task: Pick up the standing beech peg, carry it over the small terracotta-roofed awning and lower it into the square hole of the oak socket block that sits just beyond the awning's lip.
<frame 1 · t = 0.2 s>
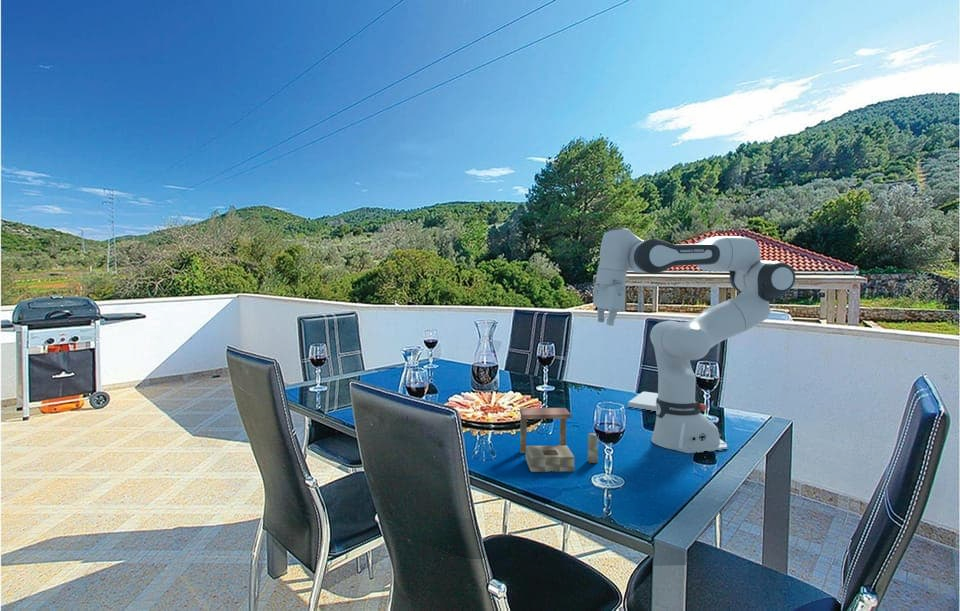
hand: (605, 323, 153), 39 cm above the table, tool pointing down, fingers open, 8 cm apart
food packaging: (653, 407, 203), on the table
socket block: (549, 465, 138), on the table
awning: (542, 452, 148), on the table
peg: (592, 462, 140), on the table
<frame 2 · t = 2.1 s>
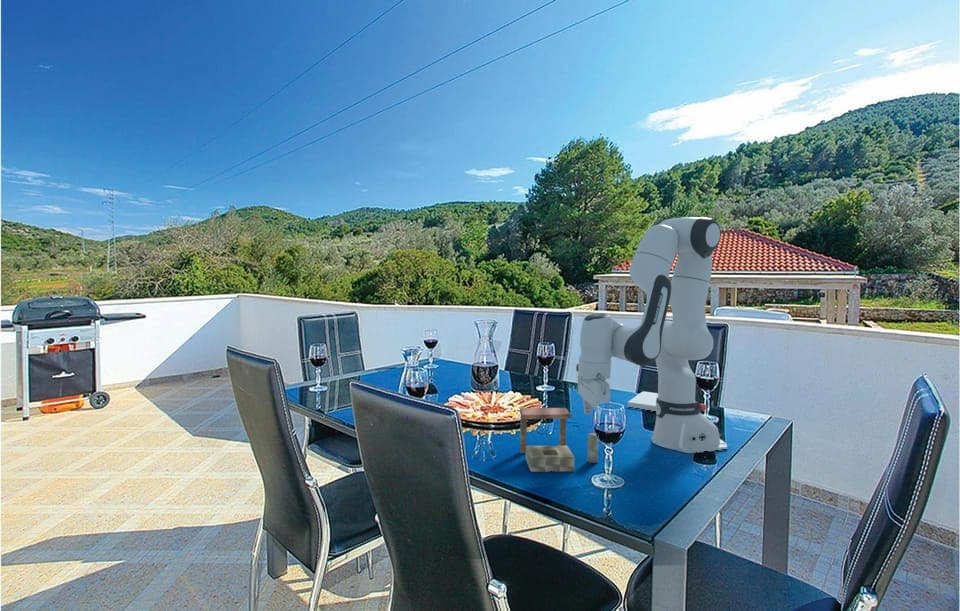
hand: (592, 418, 139), 13 cm above the table, tool pointing down, fingers open, 8 cm apart
nothing on the table moved.
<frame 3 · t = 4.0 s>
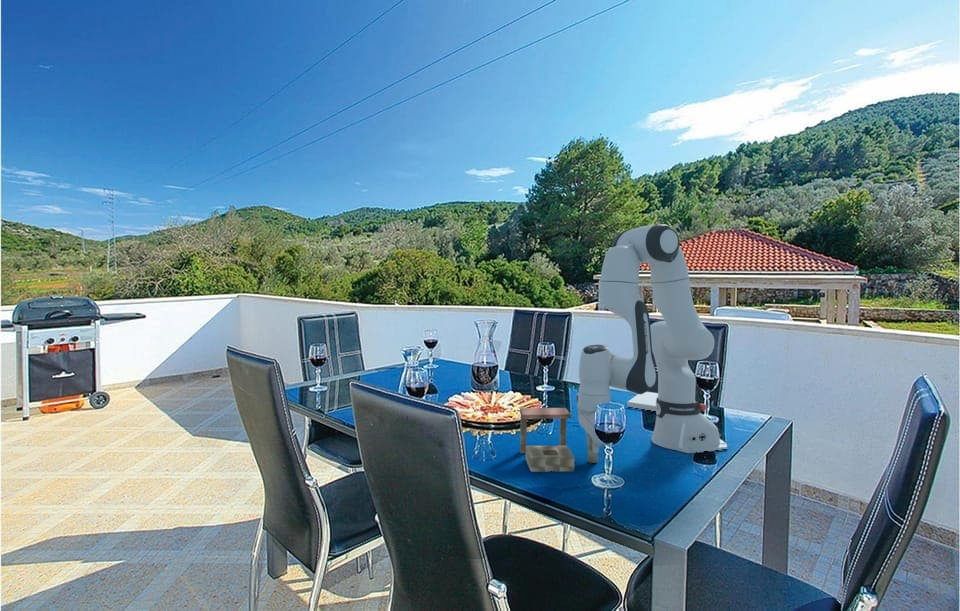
hand: (592, 449, 140), 4 cm above the table, tool pointing down, fingers closed on peg, 3 cm apart
peg: (592, 461, 140), on the table, touching gripper
everything else where it was.
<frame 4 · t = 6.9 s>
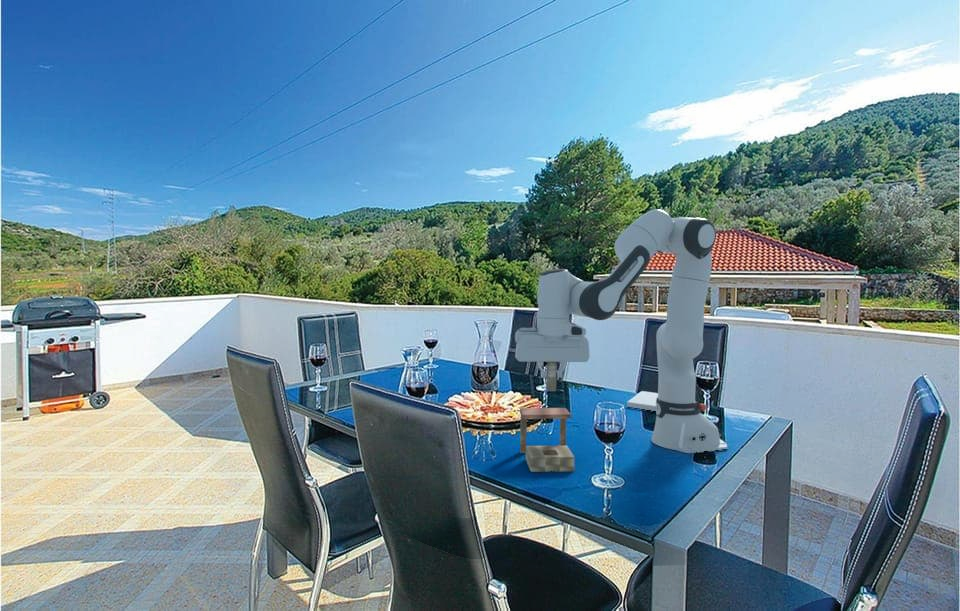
hand: (551, 377, 135), 25 cm above the table, tool pointing down, fingers closed on peg, 3 cm apart
peg: (551, 390, 135), point 22 cm above the table, touching gripper
everything else where it was.
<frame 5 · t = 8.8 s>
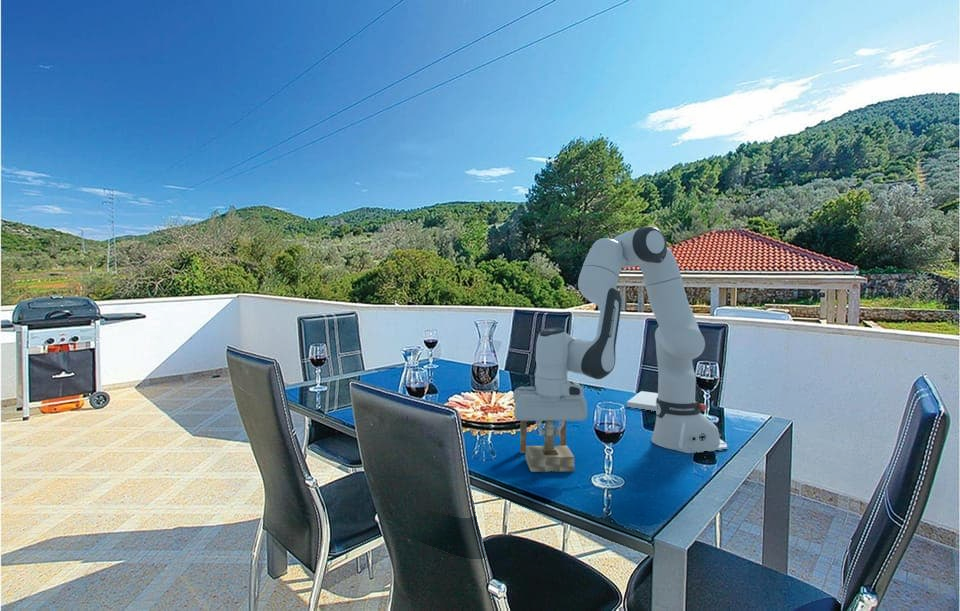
hand: (549, 435, 136), 9 cm above the table, tool pointing down, fingers closed on peg, 3 cm apart
peg: (549, 447, 137), point 5 cm above the table, touching gripper
everything else where it was.
when the fingers open (6 cm above the table, at t = 10.1 s): peg drops 2 cm, resting on socket block.
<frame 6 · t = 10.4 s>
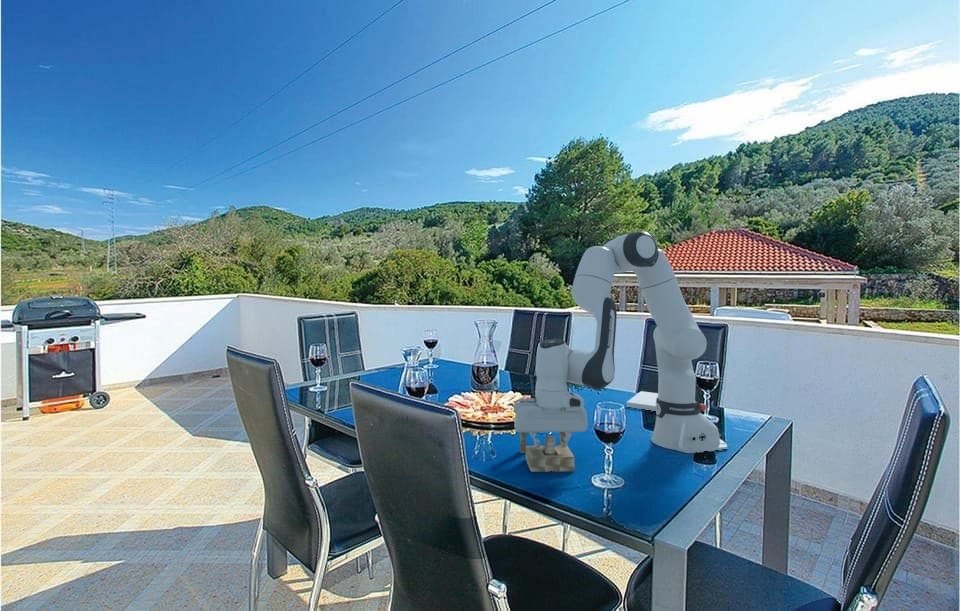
hand: (550, 446, 136), 6 cm above the table, tool pointing down, fingers open, 6 cm apart
peg: (549, 465, 137), resting on socket block
everything else where it was.
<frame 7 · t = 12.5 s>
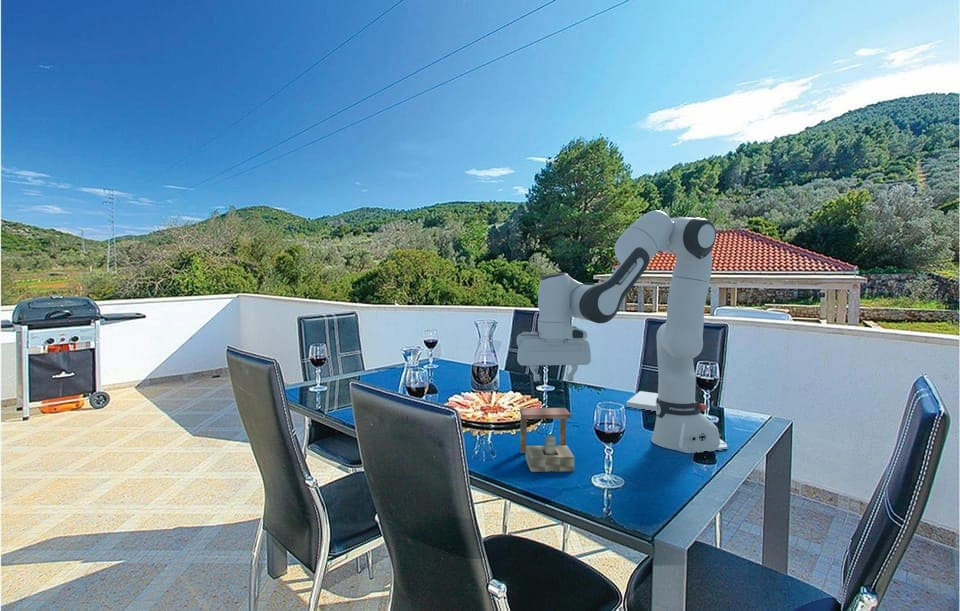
hand: (553, 380, 136), 24 cm above the table, tool pointing down, fingers open, 8 cm apart
nothing on the table moved.
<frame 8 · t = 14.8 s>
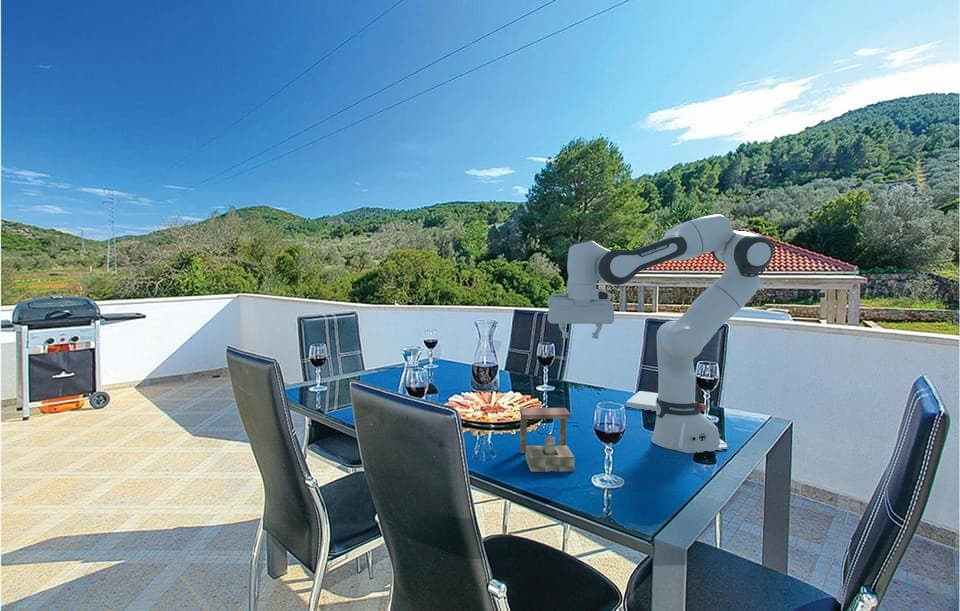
hand: (580, 338, 151), 34 cm above the table, tool pointing down, fingers open, 8 cm apart
at the end: peg 0.2 cm from the target spot on the socket block, point 0.2 cm above the socket block's base; peg tilted 2°; the gripper is holding nothing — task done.
